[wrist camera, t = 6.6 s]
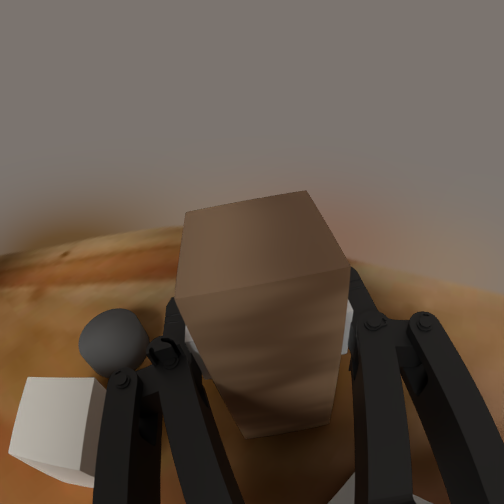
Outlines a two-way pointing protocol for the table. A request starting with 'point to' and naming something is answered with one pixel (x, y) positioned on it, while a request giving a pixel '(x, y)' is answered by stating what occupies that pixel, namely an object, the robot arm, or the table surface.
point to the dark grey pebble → (113, 342)
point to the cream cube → (60, 427)
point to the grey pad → (345, 496)
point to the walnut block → (266, 308)
